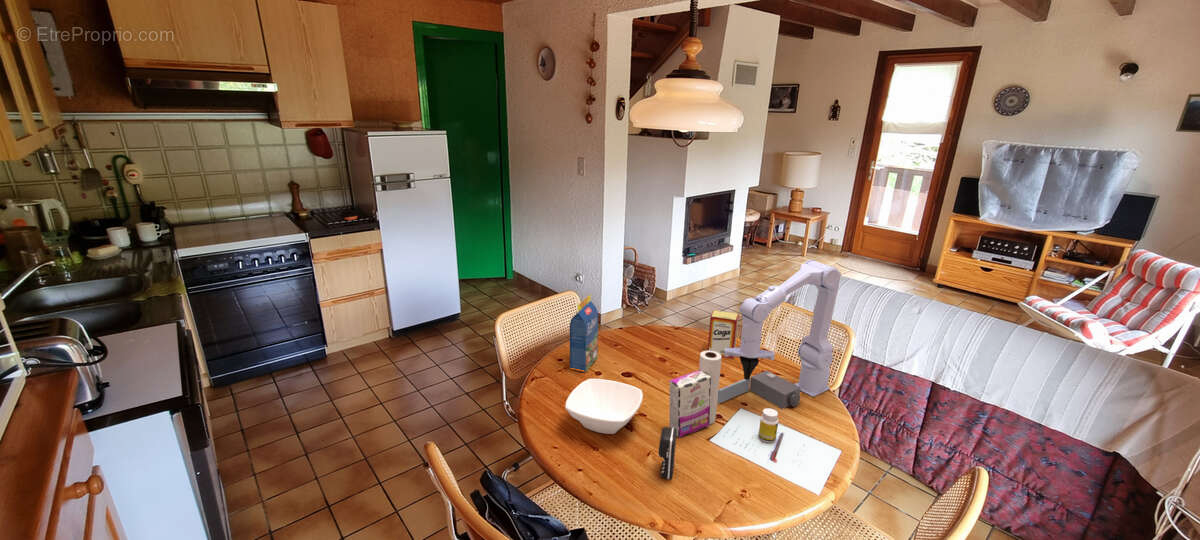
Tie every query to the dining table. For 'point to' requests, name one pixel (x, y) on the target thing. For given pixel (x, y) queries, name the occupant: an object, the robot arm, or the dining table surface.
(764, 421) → the supplement bottle
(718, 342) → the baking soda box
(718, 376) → the paper towel roll
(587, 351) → the blue food package
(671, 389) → the candy bar box
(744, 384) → the side door
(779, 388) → the box
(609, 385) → the bowl
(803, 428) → the dining table surface
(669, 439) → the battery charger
